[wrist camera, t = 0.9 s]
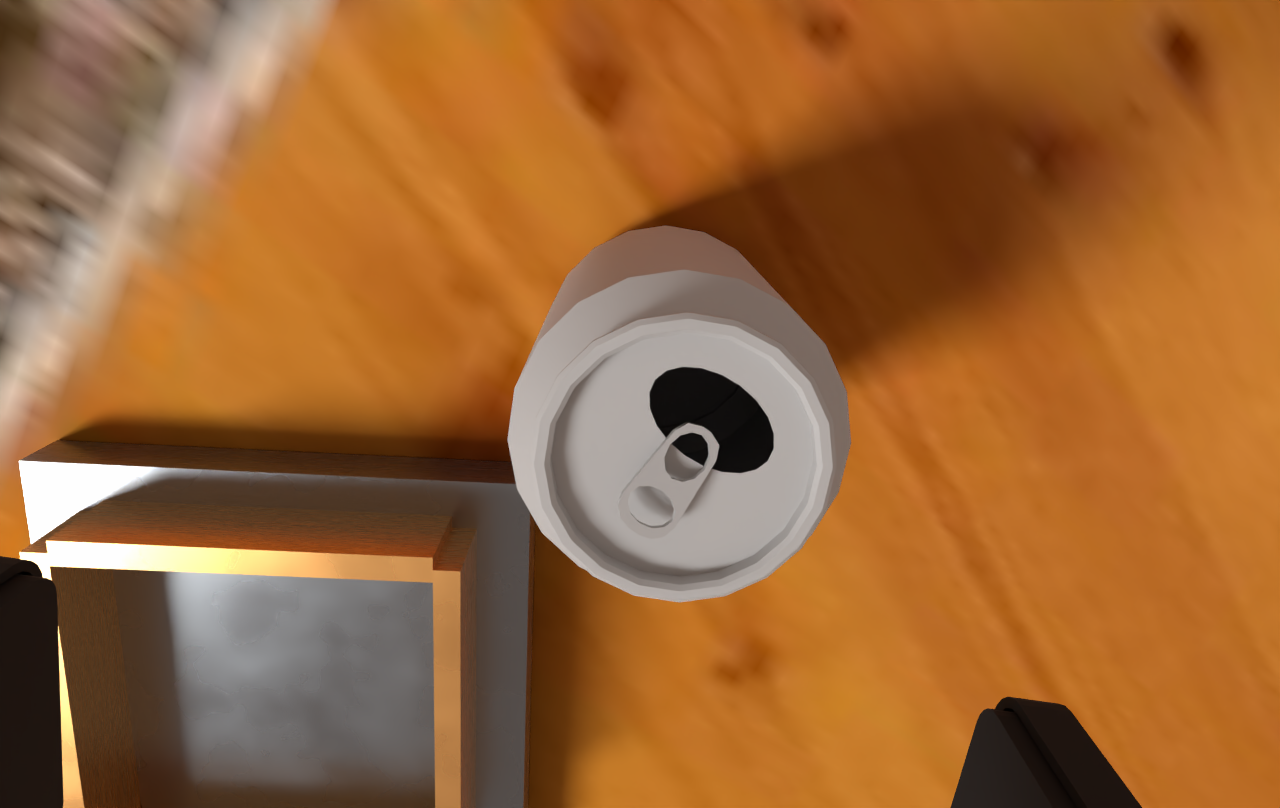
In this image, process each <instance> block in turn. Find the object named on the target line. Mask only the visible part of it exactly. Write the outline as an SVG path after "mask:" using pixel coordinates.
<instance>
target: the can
mask: <svg viewBox="0 0 1280 808" xmlns="http://www.w3.org/2000/svg"><path fill="white" fill-rule="evenodd" d="M507 440H508V445H509V450H510V455H511V461H512V466H513V471H514V476H515V481H516V486H517V490H518V492H519V494H520V495H521V497H522V499H523V501H524V502H525V504H526V506H527V508H528V509H529V511H530V513H531V515H532V516H533V518H534V520H535V522H536V523H537V525H538V527H539V529H540V530H541V532H542V533H543V534H544V535H545V536H546V537H547V538H548V539H549V540H550V541H551V542H552V543H554V544H555V545H556V546H557V547H558V548H559V549H560V550H561V551H562V552H563V553H565V554H566V555H567V556H568V557H569V558H570V559H571V560H572V561H573V562H574V563H576V564H577V565H578V566H579V567H581V568H583V569H585V570H587V571H588V572H589V573H590V574H591V575H592V576H593V577H596V578H598V579H600V580H602V581H604V582H606V583H608V584H611V585H613V586H615V587H617V588H619V589H621V590H623V591H625V592H628V593H630V594H632V595H634V596H641V597H647V598H654V599H661V600H667V601H674V602H685V601H693V600H700V599H708V598H715V597H722V596H726V595H729V594H731V593H733V592H735V591H738V590H740V589H742V588H745V587H747V586H749V585H751V584H754V583H756V582H758V581H760V580H763V579H765V578H767V577H768V576H769V575H771V574H772V573H773V572H774V571H775V570H776V569H778V568H779V567H780V566H781V565H782V564H784V563H785V562H786V561H787V560H788V559H789V558H791V557H792V556H793V555H794V554H795V553H796V552H798V551H799V550H800V549H801V548H802V547H803V545H804V544H805V542H806V540H807V539H808V538H809V537H810V536H811V535H812V533H813V532H814V530H815V529H816V527H817V525H818V524H819V522H820V521H821V519H822V518H823V516H824V514H825V513H826V511H827V510H828V508H829V506H830V505H831V503H832V502H833V500H834V499H835V497H836V495H837V494H838V492H839V488H840V484H841V480H842V476H843V472H844V468H845V464H846V460H847V456H848V452H849V449H850V445H851V438H850V426H849V414H848V402H847V392H846V389H845V387H844V385H843V382H842V380H841V378H840V376H839V373H838V371H837V369H836V367H835V364H834V362H833V360H832V358H831V355H830V353H829V351H828V349H827V346H826V344H825V343H824V342H823V341H822V340H821V339H820V338H819V337H818V336H817V335H816V333H815V332H814V331H813V330H812V329H811V328H810V327H809V326H808V325H807V324H806V323H805V322H804V321H803V320H802V318H801V317H800V316H799V315H798V314H797V313H796V312H795V311H794V310H793V309H792V308H791V307H790V306H789V305H788V304H787V302H786V301H785V300H784V299H783V298H782V297H781V296H780V295H779V294H778V293H777V292H776V291H775V290H774V289H773V288H772V286H771V285H770V284H769V283H768V282H767V281H766V280H765V279H764V278H763V277H762V276H761V275H760V274H759V273H758V272H757V271H756V269H755V268H754V267H753V266H752V265H751V264H750V263H749V262H748V261H747V260H746V259H745V258H744V257H743V256H742V255H741V253H740V252H739V251H738V250H736V249H735V248H733V247H731V246H729V245H727V244H725V243H723V242H722V241H720V240H718V239H716V238H714V237H712V236H710V235H709V234H707V233H705V232H701V231H695V230H690V229H684V228H678V227H673V226H667V225H666V226H659V227H652V228H645V229H638V230H632V231H627V232H625V233H623V234H621V235H619V236H617V237H615V238H613V239H611V240H609V241H607V242H605V243H603V244H601V245H599V246H597V247H595V248H594V249H593V250H592V251H591V252H590V253H589V254H588V255H587V256H586V257H585V258H584V259H583V260H582V261H581V262H580V263H579V264H578V265H577V266H576V267H575V268H574V269H573V270H572V271H571V272H570V273H569V274H568V275H567V276H566V278H565V280H564V282H563V284H562V286H561V288H560V290H559V292H558V294H557V296H556V298H555V300H554V302H553V304H552V306H551V308H550V310H549V312H548V315H547V317H546V319H545V321H544V324H543V326H542V328H541V330H540V333H539V335H538V337H537V339H536V342H535V344H534V346H533V348H532V351H531V353H530V355H529V357H528V360H527V362H526V364H525V366H524V368H523V371H522V373H521V375H520V377H519V380H518V382H517V384H516V386H515V389H514V396H513V403H512V410H511V418H510V425H509V432H508V439H507Z"/></svg>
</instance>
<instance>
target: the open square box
mask: <svg viewBox="0 0 1280 808" xmlns="http://www.w3.org/2000/svg"><path fill="white" fill-rule="evenodd" d="M19 466H20V473H21V480H22V487H23V493H24V500H25V507H26V514H27V520H28V527H29V534H30V541H31V545H29V546H28V547H26V548H25V549H23V550H22V551H21V552H20V559H23V560H30V561H33V562H34V563H36V564H37V565H38V566H39V568H40V570H41V572H42V575H43V578H49V579H50V580H52V581H53V583H54V584H55V586H56V591H57V608H58V640H59V671H60V703H61V735H62V766H63V798H64V802H63V808H528V798H529V757H530V716H531V675H532V634H533V593H534V552H535V520H534V518H533V516H532V515H531V513H530V511H529V509H528V508H527V506H526V504H525V502H524V501H523V499H522V497H521V495H520V494H519V492H518V490H517V486H516V481H515V476H514V471H513V466H512V462H506V461H484V460H463V459H442V458H421V457H400V456H379V455H358V454H337V453H315V452H294V451H273V450H252V449H231V448H210V447H189V446H167V445H146V444H125V443H104V442H83V441H62V440H57V441H55V442H53V443H51V444H49V445H47V446H46V447H44V448H42V449H40V450H38V451H36V452H34V453H33V454H31V455H29V456H27V457H25V458H23V459H21V460H20V461H19Z"/></svg>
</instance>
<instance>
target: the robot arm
mask: <svg viewBox="0 0 1280 808" xmlns="http://www.w3.org/2000/svg"><path fill="white" fill-rule="evenodd" d="M63 802H64V798H63V766H62V735H61V703H60V671H59V640H58V608H57V591H56V586H55V584H54V583H53V581H52V580H50V579H49V578H43V575H42V572H41V570H40V568H39V566H38V565H37V564H36V563H34V562H33V561H30V560H23V559H16V558H9V557H2V556H0V808H63ZM951 808H1142V807H1141V805H1140V804H1139V803H1138V801H1137V800H1136V799H1135V797H1134V796H1133V795H1132V793H1131V792H1130V791H1129V789H1128V788H1127V787H1126V785H1125V784H1124V782H1123V781H1122V780H1121V778H1120V777H1119V776H1118V774H1117V773H1116V772H1115V770H1114V769H1113V768H1112V766H1111V765H1110V764H1109V762H1108V761H1107V759H1106V758H1105V757H1104V755H1103V754H1102V753H1101V751H1100V750H1099V749H1098V747H1097V746H1096V745H1095V743H1094V742H1093V741H1092V739H1091V738H1090V737H1089V735H1088V734H1087V732H1086V731H1085V730H1084V728H1083V727H1082V726H1081V724H1080V723H1079V722H1078V720H1077V719H1076V718H1075V716H1074V715H1073V714H1072V712H1071V711H1070V710H1069V709H1068V708H1067V707H1066V706H1064V705H1061V704H1057V703H1049V702H1042V701H1035V700H1028V699H1021V698H1013V697H1006V698H1003V699H1002V700H1001V701H1000V702H999V703H998V704H997V706H996V708H995V709H985V710H983V712H982V713H981V714H980V716H979V718H978V720H977V723H976V726H975V730H974V733H973V736H972V740H971V743H970V746H969V749H968V753H967V756H966V759H965V763H964V766H963V769H962V772H961V776H960V779H959V782H958V786H957V789H956V792H955V795H954V799H953V802H952V805H951Z"/></svg>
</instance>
